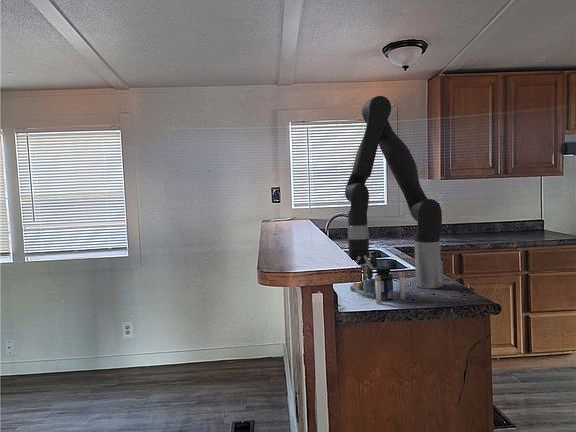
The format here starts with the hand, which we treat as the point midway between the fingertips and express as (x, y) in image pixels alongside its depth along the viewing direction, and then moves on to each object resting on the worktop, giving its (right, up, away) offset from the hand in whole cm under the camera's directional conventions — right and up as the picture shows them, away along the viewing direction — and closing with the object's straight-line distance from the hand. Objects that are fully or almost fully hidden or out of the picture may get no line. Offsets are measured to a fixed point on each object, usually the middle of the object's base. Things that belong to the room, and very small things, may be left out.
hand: (360, 280), depth 167 cm
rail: (+2, -4, -3) cm, 6 cm away
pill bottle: (+6, -5, -13) cm, 15 cm away
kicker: (+2, -3, -3) cm, 4 cm away
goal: (+8, -5, -16) cm, 18 cm away
